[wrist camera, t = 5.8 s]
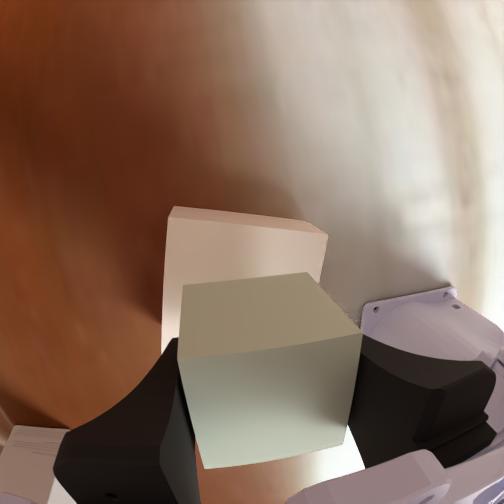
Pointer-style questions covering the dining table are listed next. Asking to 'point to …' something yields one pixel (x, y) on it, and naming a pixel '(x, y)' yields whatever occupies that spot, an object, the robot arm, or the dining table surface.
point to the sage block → (266, 368)
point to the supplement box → (33, 465)
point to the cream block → (232, 252)
